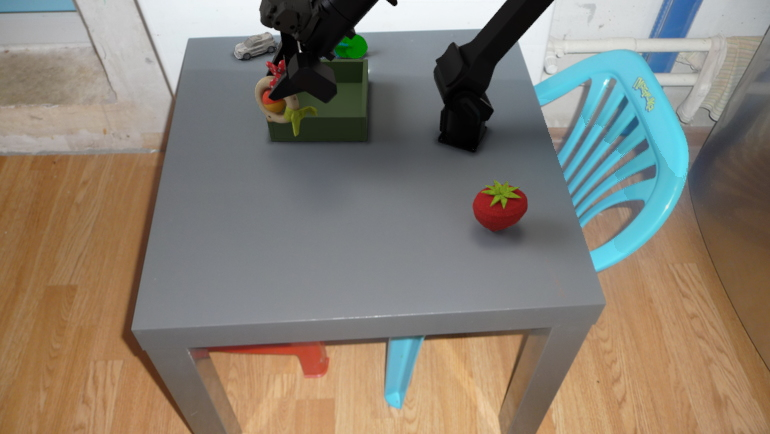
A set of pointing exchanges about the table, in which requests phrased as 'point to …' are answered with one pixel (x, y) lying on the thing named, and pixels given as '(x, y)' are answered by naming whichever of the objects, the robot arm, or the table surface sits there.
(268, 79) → the bird rattle
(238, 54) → the toy car
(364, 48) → the stick construction toy
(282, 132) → the bin
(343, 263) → the table surface
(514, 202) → the strawberry
